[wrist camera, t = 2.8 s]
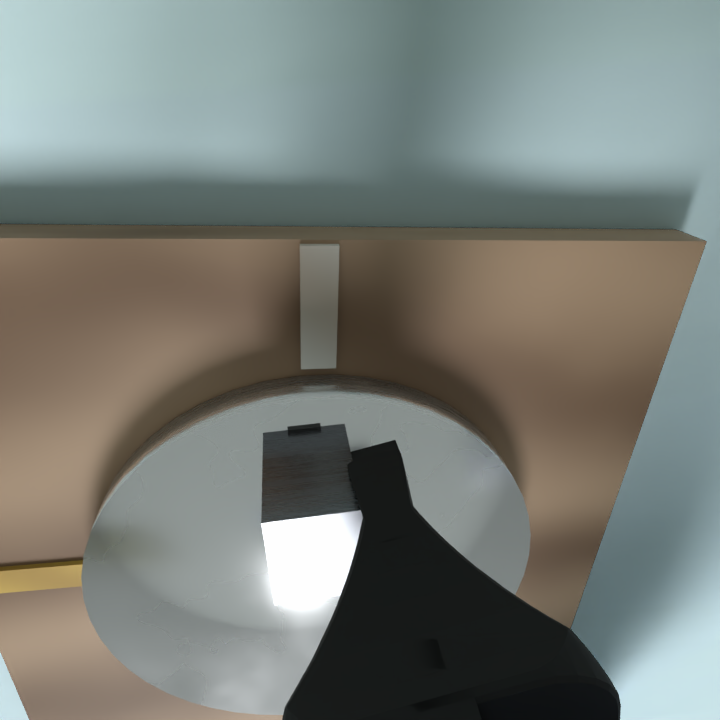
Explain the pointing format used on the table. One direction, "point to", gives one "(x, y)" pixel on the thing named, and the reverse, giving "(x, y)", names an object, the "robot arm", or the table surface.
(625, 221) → the table surface
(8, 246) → the plate
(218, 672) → the dial
